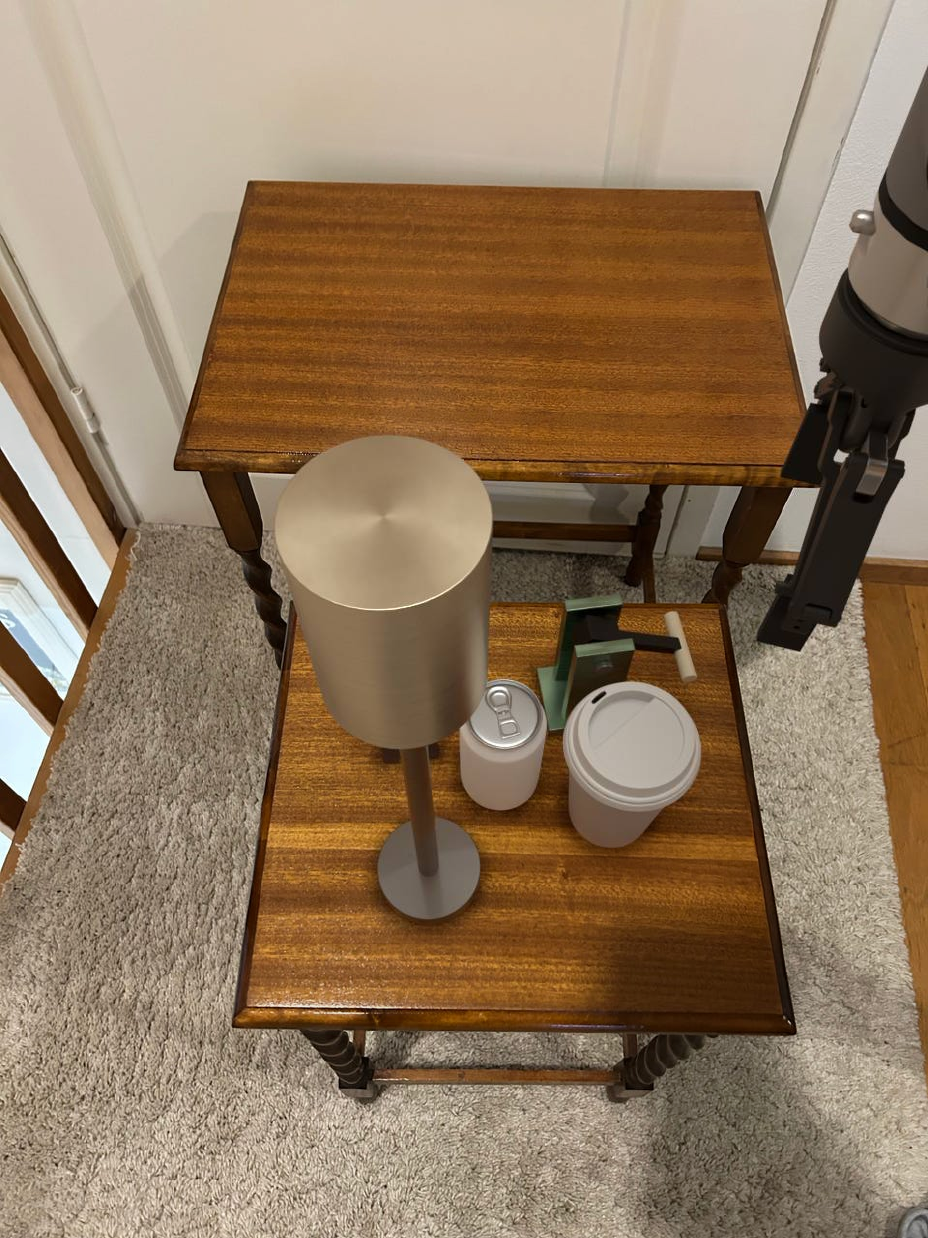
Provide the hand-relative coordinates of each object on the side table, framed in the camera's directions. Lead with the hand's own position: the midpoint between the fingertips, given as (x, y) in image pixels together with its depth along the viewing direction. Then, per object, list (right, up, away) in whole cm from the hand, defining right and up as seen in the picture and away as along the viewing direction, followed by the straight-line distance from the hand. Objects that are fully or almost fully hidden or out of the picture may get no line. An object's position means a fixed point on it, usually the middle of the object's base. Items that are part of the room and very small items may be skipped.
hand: (789, 555), depth 61 cm
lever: (-9, -7, +13) cm, 17 cm away
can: (-18, -17, +16) cm, 30 cm away
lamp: (-24, -24, +12) cm, 36 cm away
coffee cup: (-10, -20, +15) cm, 27 cm away
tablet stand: (-26, -13, +19) cm, 35 cm away
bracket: (-11, -11, +20) cm, 25 cm away
